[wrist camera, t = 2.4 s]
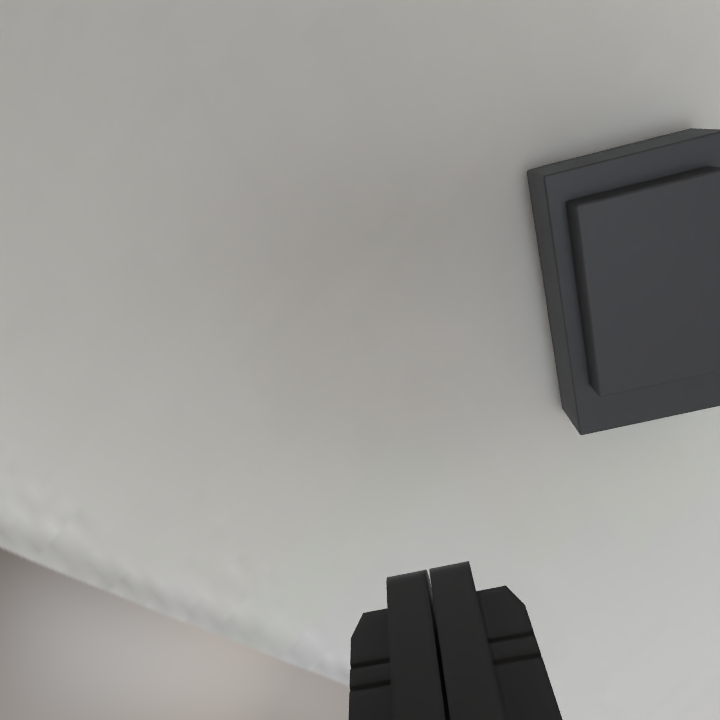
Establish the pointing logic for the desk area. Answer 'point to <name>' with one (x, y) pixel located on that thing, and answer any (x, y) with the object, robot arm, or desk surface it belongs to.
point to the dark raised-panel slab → (633, 278)
